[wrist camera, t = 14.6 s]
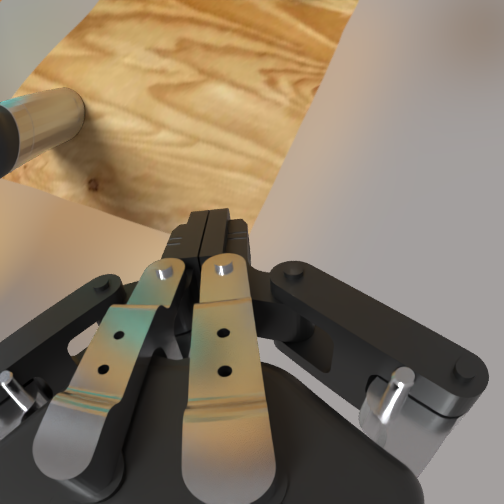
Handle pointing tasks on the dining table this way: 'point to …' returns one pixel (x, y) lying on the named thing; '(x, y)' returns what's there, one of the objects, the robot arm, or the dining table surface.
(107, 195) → the dining table surface
